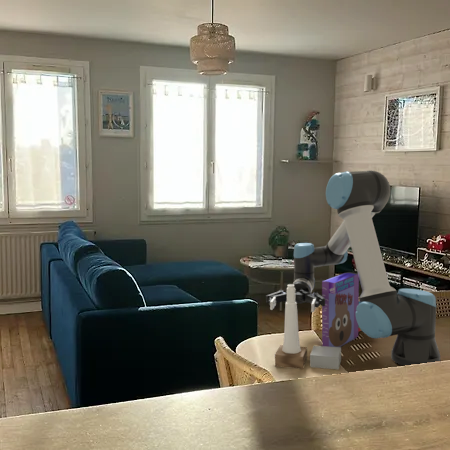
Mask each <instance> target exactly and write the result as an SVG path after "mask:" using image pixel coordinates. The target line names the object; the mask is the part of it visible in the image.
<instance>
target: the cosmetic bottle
mask: <svg viewBox="0 0 450 450" xmlns="http://www.w3.org/2000/svg"><path fill="white" fill-rule="evenodd" d="M286 286H287V287H286V292H287V301H285V303H284V304H285V308H284V333H283V343H282V345H283V349H282V351H283V352H285V353H288V354H296V353H299V352H300V351H301V348H300V347H301V344H300V343H301V342H300V335H299V317H298V305H297V304H298V303H296V302H295V288H294V285H293V283H289V284H287V285H286Z"/></svg>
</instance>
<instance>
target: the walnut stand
mask: <svg viewBox="0 0 450 450" xmlns="http://www.w3.org/2000/svg"><path fill="white" fill-rule="evenodd" d="M300 348H301V351H300V352H299V353H296V354H288V353H285V352H283V351H282V349H283V344H279V346H278V349H277V350H276V352H275V353H274V367H279V368H286V369H301V370H303V369H304V368H305V364H306V362H307V359H308V348H307V346H300Z"/></svg>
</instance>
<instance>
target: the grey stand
mask: <svg viewBox="0 0 450 450" xmlns="http://www.w3.org/2000/svg"><path fill="white" fill-rule="evenodd" d="M341 361H342V346H341V347H328V346H322V345H313V347H312V349H311V352H310V354H309V367H310V368H318V369H329V370H331V369H332V370H340V365H341Z"/></svg>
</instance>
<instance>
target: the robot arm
mask: <svg viewBox="0 0 450 450" xmlns="http://www.w3.org/2000/svg"><path fill="white" fill-rule="evenodd" d="M390 196H391V184H390V181H389V180H388V179H387V177H386V176H385V175H384V174H383V173H381V172H379V171H375V170H359V171H358V170H357V171H348V170H347V171H343V172H336V173H334V174H333V175H332V176H331V177H330V178H329V180H328V182H327V185H326V188H325V199H326V202H327V204H328V206H330V208H332V209H334V210H336V211H337V216H338V217H339V218H341V219H342V220H343V221H342V222H341V224H340V225H339V226H338V228H337V229H336V231H335V232H334V234H333V235H332V236H331V237H330V239H329V241H328V242H327V243H326V245H324V246H315V245H314V243H310V242H299V243H296V244H295V245H294V247H293V267H294V270H293V283H292V284H293V285H294V288H295V302H296V303H297V304H303V303H307V304H308V303H309V304H311V308H310V309H311V310H310V312H311V313H314V312H315V310H316V308H319V307H320V306H321V307H322V306H325V298H324V297H322V294H319V293H318V291H314V292H313V290H314V289H315V286H316V280H315V268H319V267H326V266H333V265H335V266H336V265H340V264H344V263H345V262H346V261H347V260H348V250H349V248H350V247H351V252H352V256H353V261H354V263H355V268H356V271H357V272H356V273H357V274H358V276H359V285H360V287H361V290H362V291H361V294H360V295H359V301H360V304H359V305H358V306H357V308H356V310H357V311H356V320H357V323H358V325H359V327H360V329H361V330H362V331H361V332H363V334H365V335H366V336H367V337H369V338H372V339H382V338H383V339H384V338H385V339H386V338H390V337H392V336H396V338H395V341H394V344H393V345H392V349H391V351H390V352H391V355H390V356H391V360H392V362H394V361H395V362H394V363H395V364H397V363H398V365H400V366H403V365H411V364H420V363H427V362H435V361H440V362H441V353H440V350H439V346H438V344H437V341H436V324H437V323H436V322H437V319H436V318H437V317H436V316H437V301H436V300H437V297H436V296H435V294H433V293H431V292H429V291H426V290H421V289H415V288H399V289H398V290H396V289H395V288H394V287H393V286H391V285H390V281H389V279H388V274H387V271H386V267H385V264H384V259H383V255H382V253H381V252H382V251H381V249H380V244H379V241H378V237H377V233H376V229H375V226H374V222H373V217H374V216H375V215H376V214H379V213H380V212H382V210H383V209H384V208H385V206H386V204H387V203H388V201H389V199H390ZM312 292H313V293H312ZM282 302H287V291H285V292H284V290H283V289H279V290H278V291H276V292H272V293H270V294H267V295H265V303H266V304H268V305H269V306H270V307H269V309H270V310H271V311H273V309H275V307H276V305H277V304H279V303H282Z"/></svg>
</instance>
